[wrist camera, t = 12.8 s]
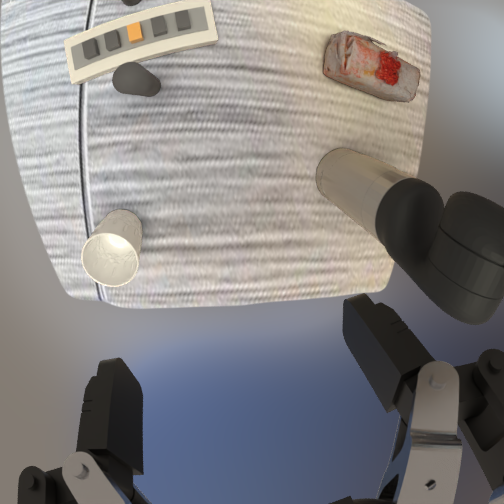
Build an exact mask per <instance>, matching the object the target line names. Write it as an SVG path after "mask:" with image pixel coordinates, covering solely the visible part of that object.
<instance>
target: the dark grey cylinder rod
mask: <svg viewBox="0 0 504 504" xmlns="http://www.w3.org/2000/svg"><path fill="white" fill-rule="evenodd" d="M112 81H113V85H114V87H115V89H116V90H117V91H119V92H120V93H123V94H132V95H140V96H147V97H151V96H154V95H156V94H157V93H158V92H159V90H160V88H161V83H160V81H159V79H158V78H156V77H155V76H154V75H153V74H151V73H150V72H149V71H148V70H146V69H145V68H144V67H143V66H141V65H140V64H138V63H136V62H126V63H124V64H122V65H120V66H119V67H118V68H117V69H116V70H115V72H114V74H113V79H112Z"/></svg>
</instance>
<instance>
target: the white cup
mask: <svg viewBox="0 0 504 504" xmlns="http://www.w3.org/2000/svg"><path fill="white" fill-rule="evenodd" d="M142 233H143V230H142V224H141V222H140V220H139V219H138V217H137V216H136V215H135V214H133V213H132V212H130V211H128V210H121V209H117V210H115V211H112V212H110V213H109V214H108V215H107V216H106V217H105V218H104V220H102V221H101V222H100V224H99V225H98V226H97V227H96V229H95V230H94V231H93V233H92V234H91V236H90V237H89V239H88V240H87V241H86V243H85V244H84V246H83V248H82V252H81V261H82V265H83V268H84V270H85V271H86V273H87V274H88V275H89V276H90V277H91V278H92V279H93V280H94V281H96V282H97V283H99V284H101V285H104V286H109V287H118V286H122V285H125V284H127V283H128V282H130V281H131V280H132V279H133V278H134V277H135V275H136V273H137V271H138V266H139V258H140V252H141V244H142Z"/></svg>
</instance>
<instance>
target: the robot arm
mask: <svg viewBox="0 0 504 504" xmlns="http://www.w3.org/2000/svg"><path fill="white" fill-rule="evenodd" d="M316 182H317V186H318V189H319V191H320V192H321V194H322V195H323V196H324V197H326V198H327V199H328V200H329V201H331V202H332V203H333V204H334V205H335V206H337V207H338V208H339V209H341V210H342V211H343V212H344V213H345V214H347V215H348V216H349V217H350V218H352V219H353V220H354V221H355V222H357V223H358V224H359V225H360V226H361V227H363V228H364V229H365V230H366V231H367V232H369V233H370V234H371V235H372V236H373V237H375V238H376V239H377V240H378V241H379V242H380V243H382V244H383V245H384V246H385V248H386V250H387V252H388V254H389V255H390V256H391V258H392V259H393V260H394V261H395V262H397V264H399V266H400V267H401V268H402V269H403V270H404V271H405V272H406V273H407V274H408V275H409V276H410V277H411V278H412V280H413V281H414V282H415V283H416V284H417V285H418V287H419V288H420V289H421V290H422V291H423V292H424V293H425V294H426V295H427V296H428V297H429V299H431V300H432V301H433V302H434V303H435V304H436V305H437V306H438V307H440V309H442V310H443V311H444V312H446V313H447V314H449V315H450V316H451V317H453V318H455V319H457V320H459V321H461V322H464V323H467V324H471V325H479V324H483V323H485V322H487V321H488V320H489V319H490V318H491V317H492V316H493V314H494V313H495V311H496V309H497V307H498V306H499V304H500V302H501V300H502V299H503V296H504V208H503V207H502V206H500V205H498V204H496V203H495V202H492V201H491V200H489V199H486V198H484V197H482V196H479V195H477V194H474V193H470V192H456V193H454V194H453V195H452V196H450V198H449V199H448V201H447V204H446V206H445V208H444V204H443V200H442V198H441V196H440V194H439V193H438V191H437V190H436V189H435V188H434V187H433V186H431V185H430V184H428V183H426V182H424V181H422V180H419V179H418V178H415V177H413V176H411V175H409V174H407V173H405V172H402V171H400V170H398V169H396V168H395V167H393V166H391V165H389V164H386V163H384V162H382V161H379V160H377V159H374V158H372V157H370V156H367V155H365V154H360V153H358V152H355V151H352V150H350V149H346V148H340V149H335V150H333V151H331V152H329V153H328V154H327V155H326V156H325V157H324V158H323V159H322V160H321V162H320V163H319V166H318V168H317V173H316ZM343 336H344V339H345V342H346V344H347V346H348V348H349V349H350V351H351V353H352V354H353V356H354V357H355V359H356V361H357V363H358V364H359V366H360V368H361V369H362V371H363V373H364V374H365V376H366V378H367V380H368V381H369V383H370V385H371V386H372V388H373V389H374V391H375V393H376V395H377V397H378V398H379V400H380V402H381V403H382V405H383V407H384V409H385V410H386V412H387V413H388V412H390V411H392V410H394V409H397V410H398V412H399V413H400V417H399V422H398V426H397V431H396V436H395V440H394V445H393V448H392V453H391V457H390V460H389V464H388V467H387V469H386V471H385V473H384V476H383V479H382V481H381V484H380V488H379V491H378V494H377V497H376V499H355V500H352V498H351V496H349V497H346V498H344V499H341V500H338V501H335V502H333V503H330V504H453V502H454V497H455V492H456V487H457V482H458V476H459V470H460V463H461V456H462V442H461V440H460V439H458V438H457V423H458V425H459V427H460V429H461V431H462V432H463V434H464V436H465V438H466V440H467V441H468V443H469V445H470V447H471V449H472V450H473V452H474V454H475V456H476V458H477V460H478V462H479V464H480V466H481V468H482V470H483V472H484V474H485V476H486V478H487V480H488V482H489V484H490V486H491V488H492V490H493V492H492V494H491V496H490V498H489V502H488V504H504V352H502V351H500V350H497V349H489V350H486V351H484V352H483V353H482V354H481V355H480V357H479V359H478V361H477V362H474V363H470V364H466V365H462V366H456V367H452V366H451V365H450V364H448V363H446V362H442V361H436V360H435V359H434V358H433V357H432V356H431V355H430V354H429V352H428V351H427V350H426V349H425V347H424V346H423V345H422V344H421V342H420V341H419V340H418V339H417V337H416V336H415V335H414V334H413V332H412V331H411V330H410V329H408V326H407V325H406V324H405V323H404V321H402V320H401V318H400V317H399V316H398V314H397V313H396V312H395V311H394V310H393V309H392V308H390V307H388V306H387V305H385V304H383V303H378V304H374V303H373V302H372V301H371V299H370V298H369V297H368V296H367V295H366V294H365V293H363V294H360V295H357V296H354V297H351V298H348V299H345V300H344V303H343ZM83 401H84V403H83V405H82V413H81V418H80V425H79V432H78V441H77V448H76V452H75V453H72V454H71V455H70V456H68V457H67V458H66V460H65V462H64V464H63V467H60V468H57V469H54V470H51V471H47V472H44V471H42V470H41V469H39V468H37V467H35V466H29V467H27V468H25V469H24V470H23V471H22V473H21V475H20V477H19V485H18V504H152V503H151V502H150V501H149V500H148V499H147V498H146V497H145V495H144V494H143V493H142V492H141V491H140V490H139V489H138V487H137V486H136V485H135V484H134V483H133V475H143V474H144V472H143V437H142V436H143V431H142V430H143V393H142V389H141V386H140V384H139V382H138V381H137V379H136V378H135V376H134V375H133V374H132V372H131V371H130V370H129V368H128V367H127V365H126V364H125V363H124V361H123V360H122V359H121V358H114V359H109V360H103V361H100V363H99V366H98V371H97V376H93V377H92V378H91V379H90V381H89V383H88V385H87V387H86V389H85V394H84V400H83ZM427 488H428V490H426V489H427Z"/></svg>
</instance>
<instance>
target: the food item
mask: <svg viewBox="0 0 504 504" xmlns="http://www.w3.org/2000/svg"><path fill="white" fill-rule="evenodd" d="M372 41H374V42H377V43H378V44H383V45H385V44H384V43H381V42H379V41H378V40H376V39H373V38H371V37H369V36H364V35H360V34H358V33H355V32H349V31H343V32H341V33H337V34H333V35H331V39H330V42H329V44H328V47H327V50H326V53H325V63H324V74H325V75H326V76H327V77H330V78H332V79H334V80H336V81H338V82H341V83H343V84H346V85H348V86H351V87H353V88H356V89H358V90H362V91H364V92H366V93H369V94H372V95H374V96H377V97H379V98H381V99H384V100H387V101H397V102H398V101H399V102H408V103H409V102H410V101H411V100H413V99H414V97H415V96H416V90H417V87H418V85H419V80H420V70H419V69H418V68H416V67H414V66H413V65H411V64H409V63H408V62H406V61H404V60H402V59H401V58H399V57H397V55H398V52H395V51H393V52H390V51H389V52H388V51H386V50H384V49H382V48H380V47H379V46H377V45H375V44H374V43H373V42H372ZM386 46H387V45H386Z"/></svg>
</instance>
